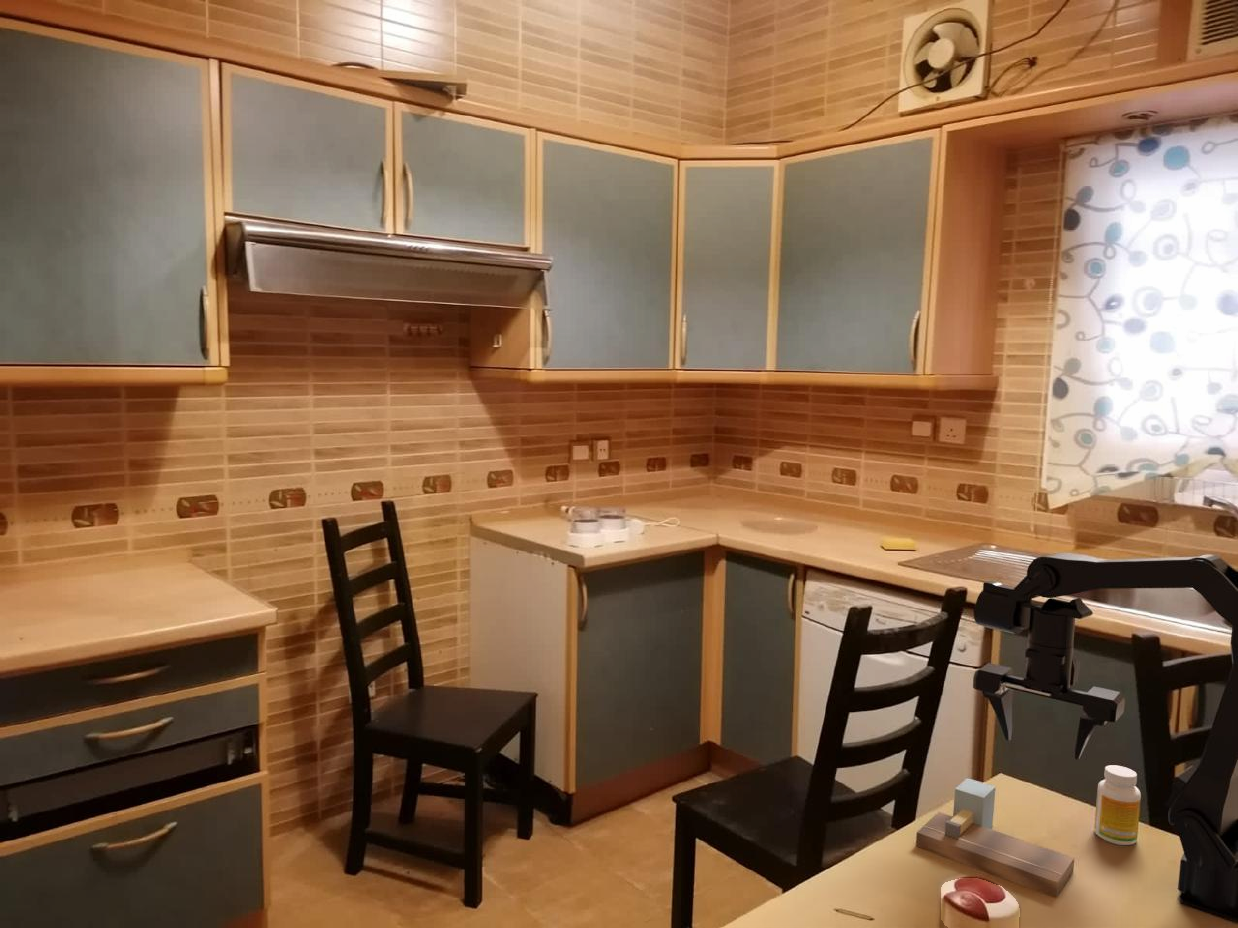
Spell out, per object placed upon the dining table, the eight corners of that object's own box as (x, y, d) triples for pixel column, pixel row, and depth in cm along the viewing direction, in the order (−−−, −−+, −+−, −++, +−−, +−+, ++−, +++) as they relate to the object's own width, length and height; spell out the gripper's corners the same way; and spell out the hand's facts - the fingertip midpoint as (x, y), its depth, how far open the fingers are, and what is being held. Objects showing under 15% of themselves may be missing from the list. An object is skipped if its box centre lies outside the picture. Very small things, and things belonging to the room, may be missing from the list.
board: (1073, 871, 118) (1074, 856, 118) (1056, 897, 112) (1057, 881, 112) (937, 824, 130) (938, 811, 130) (915, 845, 124) (916, 831, 123)
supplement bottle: (1145, 846, 125) (1151, 779, 124) (1106, 845, 125) (1111, 778, 124) (1124, 827, 131) (1129, 763, 130) (1086, 826, 131) (1092, 761, 130)
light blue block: (992, 826, 130) (995, 786, 129) (965, 855, 121) (968, 812, 121) (964, 817, 132) (967, 777, 132) (935, 844, 124) (938, 802, 123)
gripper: (1137, 644, 127) (1128, 751, 128) (1000, 618, 139) (993, 716, 140) (1119, 662, 118) (1109, 776, 120) (975, 632, 130) (968, 737, 132)
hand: (1042, 749), depth 128 cm, fingers open, 9 cm apart
